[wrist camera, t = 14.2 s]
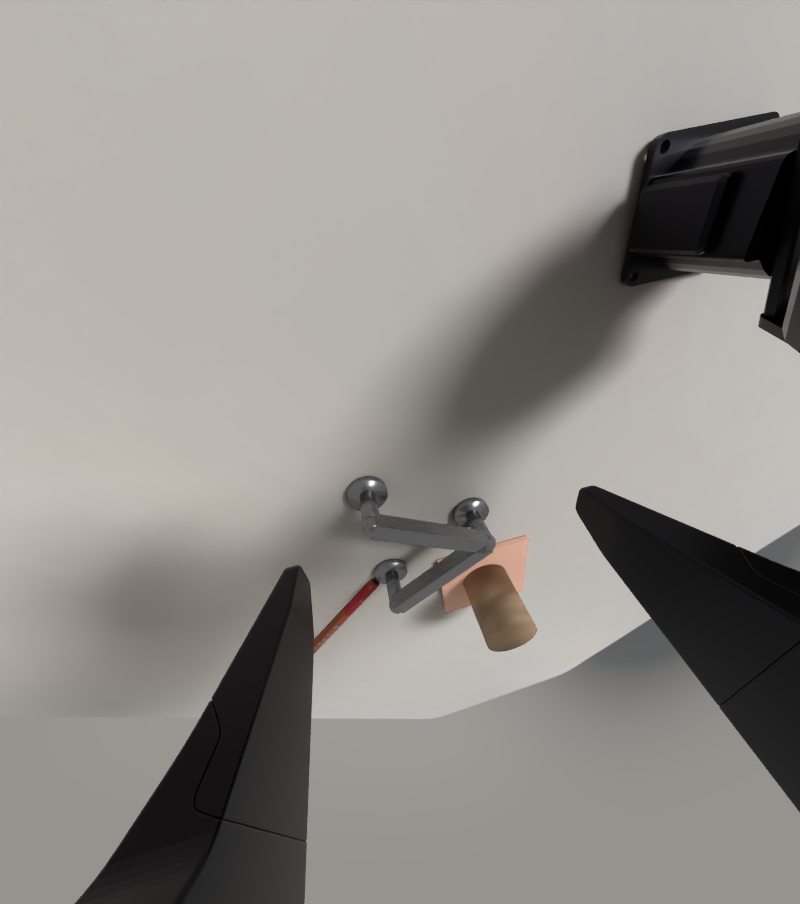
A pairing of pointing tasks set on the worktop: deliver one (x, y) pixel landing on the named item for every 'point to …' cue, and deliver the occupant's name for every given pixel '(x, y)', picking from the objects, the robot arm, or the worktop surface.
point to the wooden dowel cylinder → (498, 608)
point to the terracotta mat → (504, 554)
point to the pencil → (345, 613)
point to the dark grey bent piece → (421, 542)
